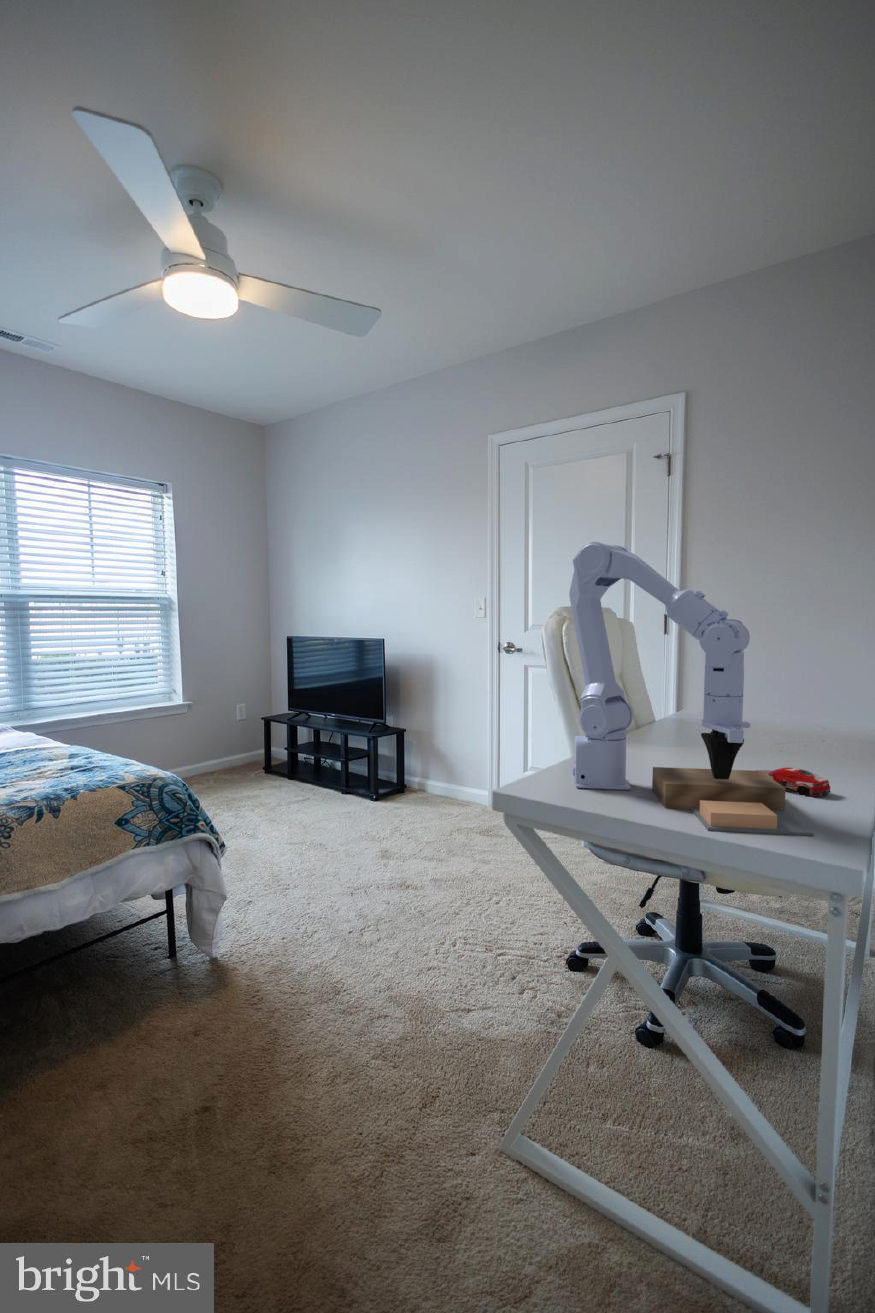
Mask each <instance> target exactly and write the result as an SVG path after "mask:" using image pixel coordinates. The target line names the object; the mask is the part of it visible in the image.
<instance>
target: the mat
mask: <svg viewBox="0 0 875 1313" xmlns="http://www.w3.org/2000/svg"><path fill="white" fill-rule="evenodd" d="M690 810H691V811H692V813H693V814H694V813H695V814H694V815H695V816H696V818H697V819H698V820H699V821H700V822H701V824H702V825H703V826H704V828H705V829H706V830H707V831H709V832H710V831H713V832H715V831H716V832H729V833H730V832H731V833H733V832H736V833H752V834H768V835H769V834H771V835H772V834H775V835H791V836H808V837H809V836H810V837H811V836H812V837H813V836H814V832H812V831H811V830H810V829H809V828H808V827H806V826H805V825H803V824H802V823H801V822H800V821H798V820H797V819H796V818H795V817H793V816H792V815H791V814H789V812H787V811H786V810H785V811H777V810H771V811H772V812H774V813H775V814H776V815H777V829H760V828H740V827H719V826H710V825H709V824H708V822H707V821H706V820H705V819H704V818H703V817H702V815H701V814H700V807H691V809H690Z"/></svg>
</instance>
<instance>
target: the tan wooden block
mask: <svg viewBox="0 0 875 1313" xmlns="http://www.w3.org/2000/svg"><path fill="white" fill-rule="evenodd" d="M700 814H701V815H702V817H703V818H704V819H705V820H706V821H707V822H708V824H709V825H710V826H719V827H740V828H760V829H777V815H776V814H775V813H774V812H772V811H771V810H770V809H769V808H767V807H766V806H765V805H764V804H763V803H749V802H725V801H702V800H700Z"/></svg>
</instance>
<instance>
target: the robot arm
mask: <svg viewBox="0 0 875 1313" xmlns="http://www.w3.org/2000/svg"><path fill="white" fill-rule="evenodd" d="M572 564H573V574H572V579H571V584H570V588H569V591H568V592H569V593H568V594H569V597H568V598H569V602H570V608H571V613H572V617H573V623H574V630H575V634H576V635H575V636H576V639H577V644H578V651H579V656H580V660H581V667H582V671H583V672H582V673H583V678H584V682H585V683H584V684H585V688H584V689H583V692H582V693H581V695H580V697H579V698H580V699H579V700H580V710H579V711H580V712H579V714H578V716H579V717H578V721H579V726H580V727H581V729H582V731H583V732H584V733H585V735H575V736H574V746H573V748H574V749H573V751H574V752H573V753H574V755H573V765H572V776H573V779H574V784H575V787H576V788H580V789H599V790H600V789H601V790H623V791H624V790H626V791H627V790H628V791H629V790H631V786H630V784H629V782H628V780H627V778H626V777H627V776H626V775H627V773H626V771H627V770H626V769H627V767H626V766H627V729H628V728H629V727H630V726H631V725H632V723H633V719H634V713H633V709H632V707H631V705H630V704H629V703H628V701H627V699H626V695H625V692H624V690H623V689H622V688H621V687H620V685H619V684H618V682H616V676H615V671H614V666H613V660H612V654H611V649H610V644H609V640H608V639H609V638H608V632H607V629H606V623H605V617H604V613H603V608H602V606H603V605H602V602H601V599H602V597H603V596H605V594H606V593H607V591H608V590H609V588H611V587H612V586H613V585H615V584H616V583H618V582H619V581H620V580H622V579H623V580H629V581H630V582H632V583H633V584H635V585H636V586H638V587H640V588H641V589H642V590H644V591H645V592H646V593H648V594H649V595H650V596H652V597H653V598H655V600H657V601H659V602H660V603H662V604H663V605H664V606H665V609H666V610H665V611H666V616H667V617H668V618H669V619H670V620H672V621H673V622H674V623H676V624H677V625H678V626H679V627H680V628H682V629H683V630H684V631H685V632H687V633H688V634H689V635H691V636H692V637H693V638H694V639H695V640H698V641H699V644H700V647H701V649H702V651H703V652H704V653H705V662H704V664H705V665H704V678H703V681H704V683H703V685H704V687H703V712H702V713H703V715H702V716H703V718H702V720H701V726H702V727H704V728H707V729H711V731H710V732H702V733H700V737H701V739H702V740H703V743H704V746H705V747H706V751H707V755H708V759H709V764H710V769H711V770H712V775H713V777H714V778H715V779H729V777H730V774H731V770H733V766H734V763H735V759H736V758H737V755H738V752H740V749H742V747H743V745H744V743H745V739H744V729H746V728H747V729H751V723H750V722H748V721H743V716H744V715H743V712H744V710H743V709H744V685H745V666H744V663H745V652H744V651H745V649H747V647H748V645H749V643H750V639H751V637H750V631H749V630H748V628H747V627H746V626H745V625H744V623H743V622H742V621H741V620H739V619H736V618H728V616H729V613H728V612H727V611H726V610H724V609H721V610H720V609H718V608H717V607H715V606H714V605H713V604H712V603H710V602H709V601H707V600H706V599H705V597H706V594H705V593H703V592H702V591H700V590H696V591H695V590H693V589H684V590H679V589H678V588H677V587H676V586H674V585H673V584H672V583H671V582H670V581H669V580H667V579H666V578H665V577H664V576H663V575H661V574H660V573H659V572H657V571H656V570H655V569H654V568H653V567H651V566H650V565H649V564H648V563H647V562H646V561H644V560H643V559H642V558H640V557H639V556H638V555H637V554H635V553H633V552H631V551H629V550H628V549H627V548H625V547H623V546H621V545H611V544H605V543H602V542H600V541H590V542H587V543H585V544H584V545H583V546H582V547H581V548H580V549H579V551H578V552H577V553H576V555H575V556H574V558H573V559H572Z"/></svg>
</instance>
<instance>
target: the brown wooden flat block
mask: <svg viewBox="0 0 875 1313" xmlns="http://www.w3.org/2000/svg"><path fill="white" fill-rule="evenodd" d="M651 782H652V784H651V785H652V787H651V789H652V791H653V792H654V793H655V796H656V797H657V798H658V800H659V802H660V803H661V804H662V806H663V807H664V808H665V807H666V808H665V809H679V810H680V809H681V810H683V809H686V810H687V809H688V810H691V807H700V800H702V801H725V802H749V803H763V804H764V805H765V806H766V807H767V808H769V809H770V810H777V811H786V792H787V791H786V788H784V787H783V786H782V785H780V784H779V783H777V782H776V781H774V780H773V779H771V778H770V777H769V776H767V775H766V774H764V773H763V772H761V771H755V770H745V769H741V770H740V769H732V770H731V774H730V777H729V779H715V778H714V777H713V775H712V770H711V768H694V767H693V768H691V767H689V768H688V767H666V766H665V767H664V766H663V767H661V766H660V767H659V766H652V781H651Z"/></svg>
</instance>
